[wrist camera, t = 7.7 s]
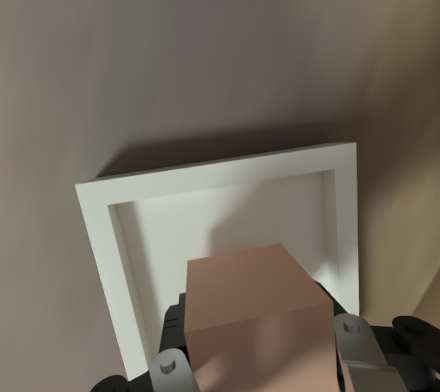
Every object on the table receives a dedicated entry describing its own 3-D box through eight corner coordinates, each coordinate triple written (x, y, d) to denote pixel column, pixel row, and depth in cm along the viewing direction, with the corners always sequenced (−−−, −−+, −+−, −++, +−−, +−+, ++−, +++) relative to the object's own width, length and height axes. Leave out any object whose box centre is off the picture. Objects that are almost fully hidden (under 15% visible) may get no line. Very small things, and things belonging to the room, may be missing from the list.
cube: (187, 260, 13) (183, 332, 8) (280, 243, 13) (333, 301, 8) (202, 341, 14) (208, 449, 9) (288, 323, 14) (339, 417, 9)
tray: (94, 177, 14) (74, 184, 11) (330, 142, 15) (356, 142, 13) (145, 377, 17) (138, 415, 14) (338, 336, 18) (359, 365, 16)
